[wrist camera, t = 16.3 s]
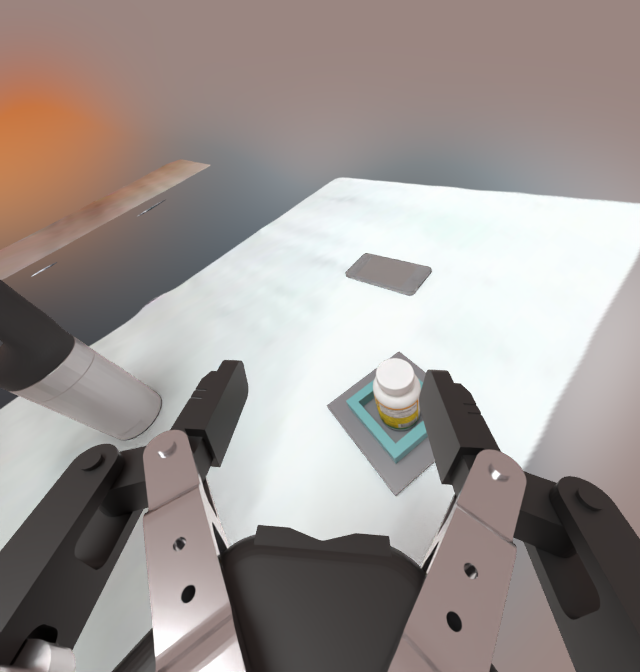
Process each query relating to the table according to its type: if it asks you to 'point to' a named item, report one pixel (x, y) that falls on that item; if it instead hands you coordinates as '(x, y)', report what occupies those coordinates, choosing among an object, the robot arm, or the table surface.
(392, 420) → the supplement bottle
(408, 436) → the bottle dock
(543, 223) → the table surface
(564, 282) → the table surface
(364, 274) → the phone
